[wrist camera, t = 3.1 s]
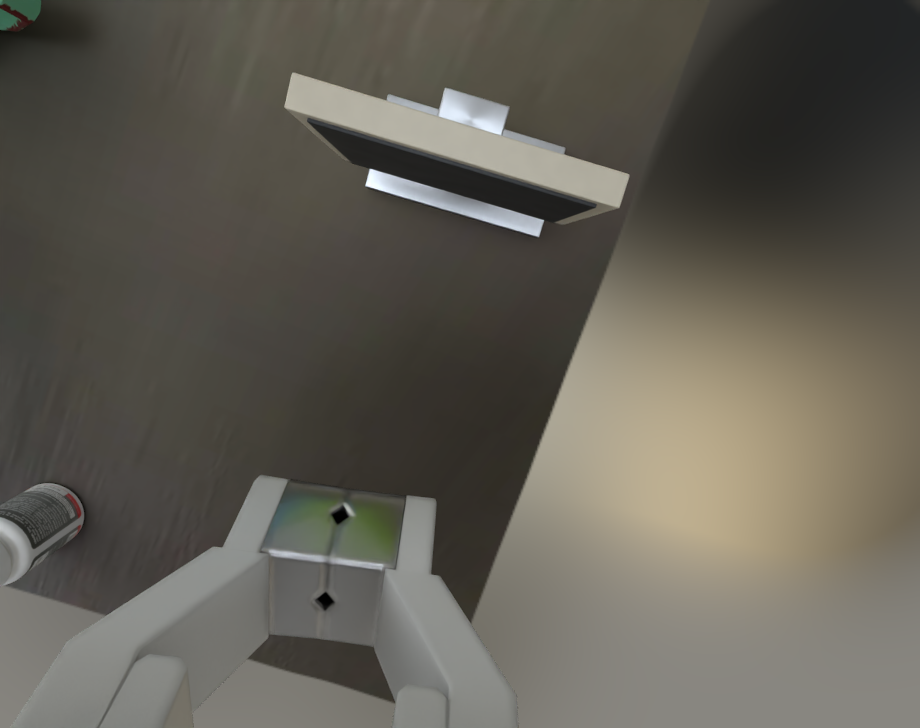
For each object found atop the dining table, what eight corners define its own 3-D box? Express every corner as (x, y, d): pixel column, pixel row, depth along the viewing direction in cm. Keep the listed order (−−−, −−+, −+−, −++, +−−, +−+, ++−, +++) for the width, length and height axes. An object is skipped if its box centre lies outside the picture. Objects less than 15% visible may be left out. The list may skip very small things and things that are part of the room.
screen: (562, 227, 32) (618, 212, 21) (342, 162, 31) (282, 112, 20) (575, 185, 32) (638, 148, 21) (352, 118, 31) (298, 43, 20)
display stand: (537, 238, 41) (578, 228, 28) (367, 188, 41) (322, 152, 27) (563, 150, 40) (620, 94, 27) (389, 97, 40) (355, 12, 26)
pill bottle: (21, 477, 44) (-78, 528, 36) (87, 485, 44) (2, 538, 36) (21, 538, 45) (-77, 601, 37) (85, 545, 45) (2, 610, 37)
